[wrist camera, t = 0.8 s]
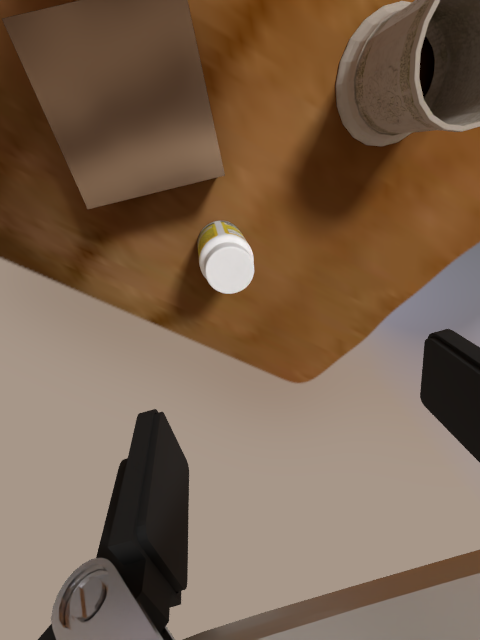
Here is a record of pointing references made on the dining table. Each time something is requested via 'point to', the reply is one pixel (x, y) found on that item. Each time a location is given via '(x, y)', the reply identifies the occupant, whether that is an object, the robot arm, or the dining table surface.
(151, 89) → the walnut block
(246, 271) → the supplement bottle
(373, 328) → the dining table surface
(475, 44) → the mug
